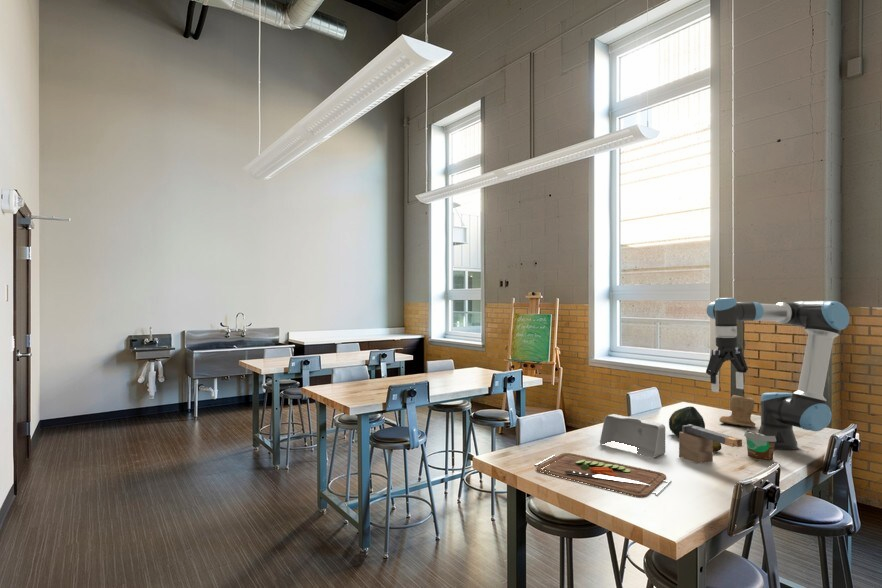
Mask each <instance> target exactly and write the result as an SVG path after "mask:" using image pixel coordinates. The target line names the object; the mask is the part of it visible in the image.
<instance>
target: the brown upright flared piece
mask: <svg viewBox="0 0 882 588" xmlns="http://www.w3.org/2000/svg"><path fill="white" fill-rule="evenodd" d="M729 402H730V408H731V415H729V416H728V415H727V416H721V417H719V422H720V423H722V424H726V425H732V426H738V425H739V426H738V427H755V426H756V423H755V422H754V421H752V420H751V417H752V414H753V413H754V412H753V411H754V410H755V400H754V398H752V397H749V396H748V397H746V396H740V395H735V394H733V395H732V396H731V397H730V401H729Z"/></svg>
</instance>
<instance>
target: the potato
mask: <svg viewBox="0 0 882 588" xmlns="http://www.w3.org/2000/svg"><path fill="white" fill-rule="evenodd" d="M721 450H722V443H719V442H716V441H713V453H715V452H716V453H717V452H719V451H721Z"/></svg>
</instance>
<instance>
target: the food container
mask: <svg viewBox="0 0 882 588" xmlns="http://www.w3.org/2000/svg"><path fill="white" fill-rule="evenodd" d="M743 436H744V437H745V439H746V448H747V456H748V458H752V459H754V460H759V461H769V462H770V461H774V451H775V448H774V444H775V441H776V438H775V436H766V435H764V434H761V433H758V432H755V431H754V432H753V431H750V429H749V428H747V429H745V430H744V435H743Z"/></svg>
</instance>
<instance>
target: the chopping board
mask: <svg viewBox="0 0 882 588" xmlns="http://www.w3.org/2000/svg"><path fill="white" fill-rule="evenodd" d="M547 460H548V461H547ZM545 461H546V462H545ZM555 461H556V462H555ZM543 462H544V463H543ZM541 463H542V464H541ZM538 464H540V465H539V466H535V465H538ZM549 464H550V465H549ZM547 465H549V466H547ZM534 466H535V470H536V469H537V470H538V471H541V472H544V473H548V474H552V475H555V476H559V477H563V478H567V479H571V480H575V481H579V482H583V483H587V484H590V485H589V486H591V485H594V486H593V487H595V486H598V487H597V488H599V487H601V488H600V489H603V488H606V489H605V490H607V489H610V490H609V491H611V490H614V491H613V492H615V491H617V492H616V493H619V492H622V493H621V494H623V493H626V494H625V495H627V494H629V495H628V496H631V495H633V496H632V497H635V496H636V498H646V497H648V496H650V494H653V495H654V496H656V497H658V496H659V495H660V494H661V493H662V492H663V491H664V490H665V489H667V488H668V486H670V484H671V483H672V480H668V481H667V480H666V479H667V474H665V473H663V472H660V471H656V470H652V469H646V468H642V467H636V466H631V465H628V464H627V465H626V464H624V463H619V462H614V461H609V460H604V459H600V458H595V457H590V456H587V455H586V456H585V455H581V454H576V453H571V452H563V453H560V454H559V455H557V456H556V454H553V455H550V456H549V457H547V458H545V459H544V460H541V461H539V462H538V463H535V464H534ZM545 466H547V467H545ZM543 467H545V468H544V469H543V470H542V469H541V468H543ZM545 470H546V471H545ZM538 471H537V472H538ZM549 471H550V472H549ZM555 476H554V477H555ZM559 477H558V478H559ZM563 478H562V479H563ZM567 479H566V480H567ZM571 480H570V481H571ZM575 481H574V482H575ZM579 482H578V483H579ZM666 482H667V483H666ZM583 483H582V484H583ZM662 483H665V484H664V486H663V487H661V489H659V490H658V491H657V492H654V491H655V489H657V488H658V487H659V486H660V485H661V484H662ZM587 484H586V485H587Z"/></svg>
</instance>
